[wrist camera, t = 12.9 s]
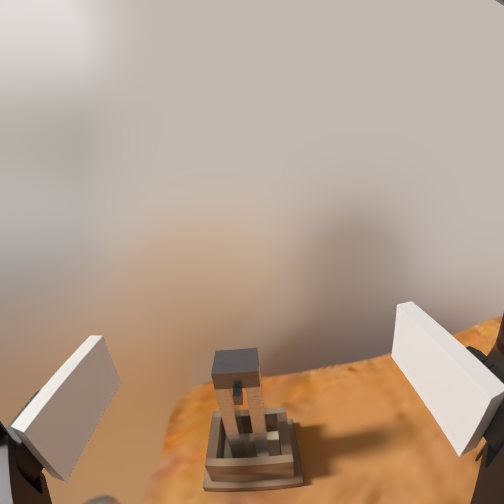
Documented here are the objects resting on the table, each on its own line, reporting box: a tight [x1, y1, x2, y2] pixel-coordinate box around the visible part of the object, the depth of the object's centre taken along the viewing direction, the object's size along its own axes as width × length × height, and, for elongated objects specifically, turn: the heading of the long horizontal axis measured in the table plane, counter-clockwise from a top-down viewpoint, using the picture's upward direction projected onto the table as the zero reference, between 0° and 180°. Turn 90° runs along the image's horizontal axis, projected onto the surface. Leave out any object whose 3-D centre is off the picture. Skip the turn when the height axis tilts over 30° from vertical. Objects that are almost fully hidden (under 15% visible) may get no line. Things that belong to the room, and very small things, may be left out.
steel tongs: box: [211, 348, 269, 458], centre depth 28 cm, size 4×6×16 cm
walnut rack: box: [203, 406, 303, 491], centre depth 30 cm, size 12×12×5 cm
